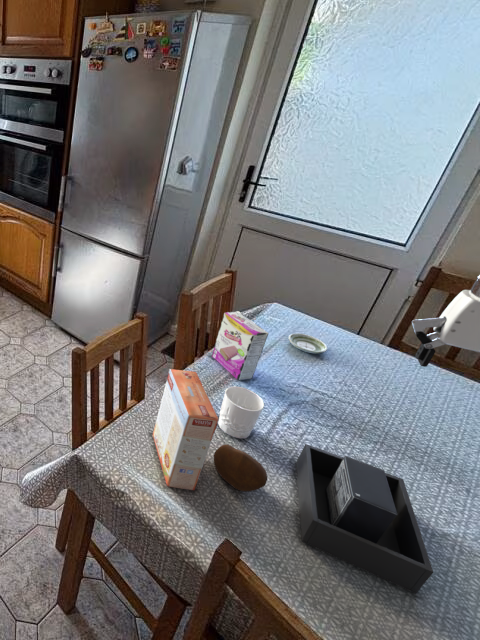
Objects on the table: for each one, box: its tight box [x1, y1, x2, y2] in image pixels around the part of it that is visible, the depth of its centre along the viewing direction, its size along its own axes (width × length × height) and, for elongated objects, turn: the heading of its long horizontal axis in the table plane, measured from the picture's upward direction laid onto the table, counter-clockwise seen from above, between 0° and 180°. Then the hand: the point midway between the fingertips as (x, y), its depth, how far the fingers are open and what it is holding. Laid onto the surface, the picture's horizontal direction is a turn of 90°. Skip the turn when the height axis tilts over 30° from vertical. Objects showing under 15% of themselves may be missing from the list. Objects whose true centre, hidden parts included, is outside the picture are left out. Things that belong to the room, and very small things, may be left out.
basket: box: [295, 443, 434, 595], centre depth 79 cm, size 16×20×7 cm
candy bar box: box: [211, 310, 269, 381], centre depth 118 cm, size 11×5×16 cm, turn 9°
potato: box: [213, 443, 268, 492], centre depth 87 cm, size 7×10×8 cm
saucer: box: [288, 332, 328, 354], centre depth 128 cm, size 10×10×2 cm
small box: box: [325, 455, 397, 544], centre depth 78 cm, size 11×6×10 cm, turn 147°
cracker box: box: [152, 368, 219, 491], centre depth 89 cm, size 14×6×21 cm, turn 170°
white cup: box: [217, 385, 265, 439], centre depth 99 cm, size 8×8×10 cm
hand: (456, 371), depth 78 cm, fingers open, 9 cm apart
